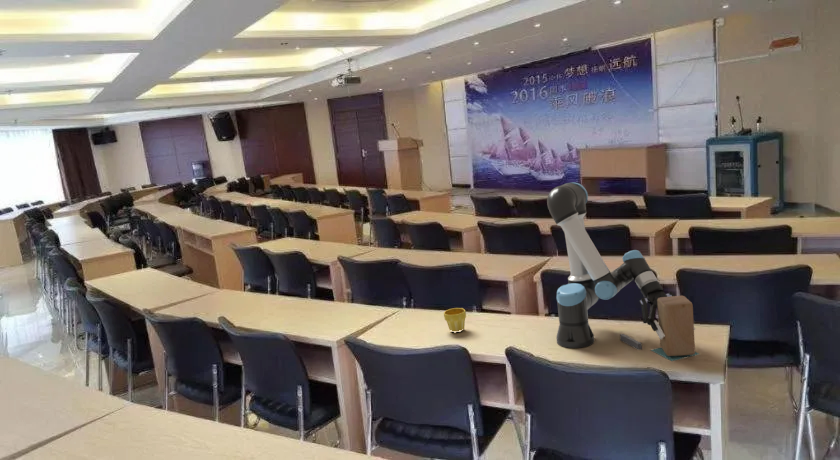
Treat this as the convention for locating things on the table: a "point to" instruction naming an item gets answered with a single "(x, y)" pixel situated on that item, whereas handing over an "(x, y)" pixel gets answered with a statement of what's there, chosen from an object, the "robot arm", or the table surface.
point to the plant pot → (455, 318)
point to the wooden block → (676, 325)
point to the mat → (671, 358)
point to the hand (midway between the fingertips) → (677, 334)
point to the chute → (631, 341)
